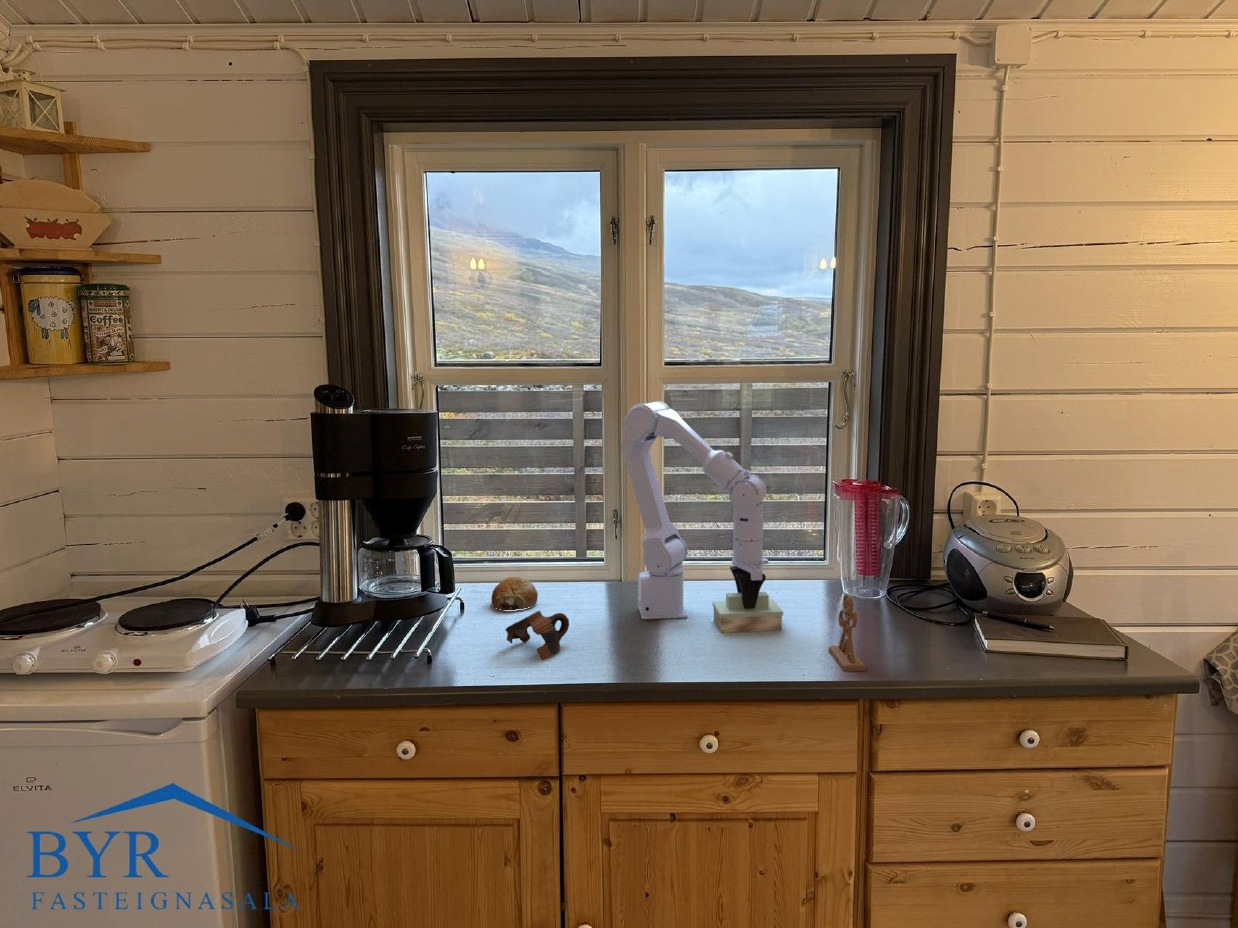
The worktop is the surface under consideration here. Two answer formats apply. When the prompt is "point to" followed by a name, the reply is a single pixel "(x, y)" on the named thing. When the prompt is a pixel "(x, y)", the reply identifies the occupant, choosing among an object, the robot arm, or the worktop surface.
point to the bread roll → (514, 594)
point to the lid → (736, 609)
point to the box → (748, 623)
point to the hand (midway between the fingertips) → (747, 605)
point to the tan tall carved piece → (847, 640)
